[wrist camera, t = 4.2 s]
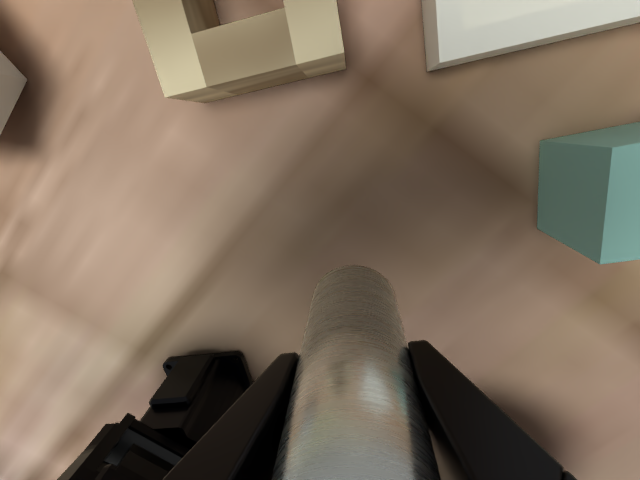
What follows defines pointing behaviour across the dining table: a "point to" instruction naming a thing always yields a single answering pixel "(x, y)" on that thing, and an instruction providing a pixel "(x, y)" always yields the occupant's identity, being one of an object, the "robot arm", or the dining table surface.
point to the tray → (513, 25)
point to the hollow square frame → (238, 46)
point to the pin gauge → (355, 389)
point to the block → (592, 192)
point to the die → (9, 88)
